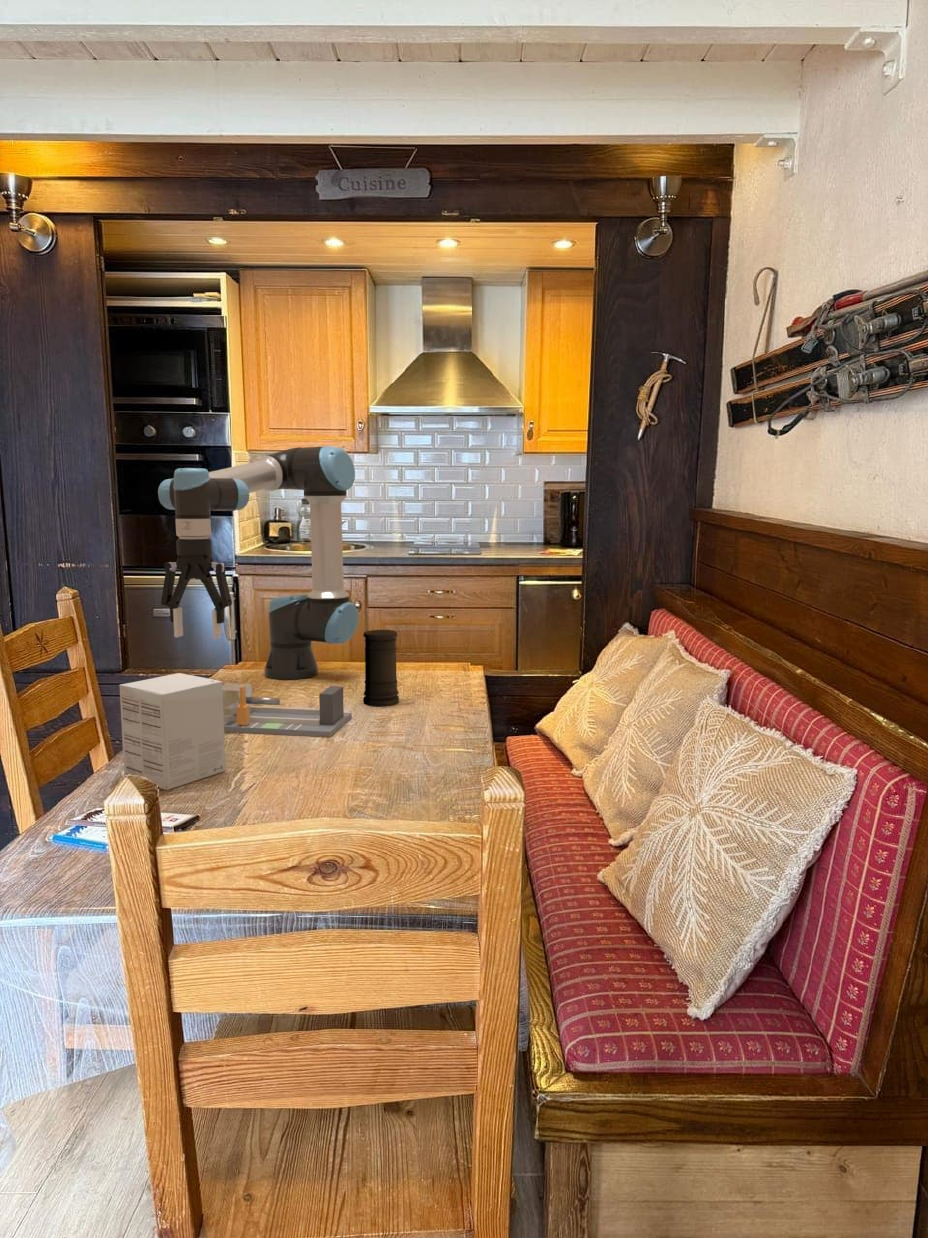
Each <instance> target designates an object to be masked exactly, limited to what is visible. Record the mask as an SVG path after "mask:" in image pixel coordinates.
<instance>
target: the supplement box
mask: <svg viewBox="0 0 928 1238" xmlns="http://www.w3.org/2000/svg"><path fill="white" fill-rule="evenodd" d="M222 685H223V681H221V680H217V679H212V678H207V677H202V676H196V675H192V674H186V673H180V672H177V673H176V672H175V673H173V674H167V675H163V676H157V677H153V678H152V677H151V678H148V679H143V680H138V681H134V682H128V683H122V684H119V685H118V686H119V701H120V702H119V704H120V717H121V719H120V720H121V721H120V722H121V738H122V741H121V743H122V759H123V760H122V761H123V774H124V775H128V774H131V775H139V776H143V777H146V778H148V779H149V780H151V781H153V782H155V783H157V785H158V786H159V788H158V789H161V790H165V791H168V790H171V789H174V788H177V787H178V788H179V787H180V786H184V785H187V784H189V783H193V782H196V781H199V780H202V779H205V778H208V777H211V776H214V775H218V774H221V773H224V772H225V771H226V770H227V769H226V768H227V767H226V764H227V763H226V746H225V732H224V719H223V694H222Z"/></svg>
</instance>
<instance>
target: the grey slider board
mask: <svg viewBox="0 0 928 1238" xmlns="http://www.w3.org/2000/svg"><path fill="white" fill-rule="evenodd" d="M318 695H319V708H301V707H297V708H296V707H276V706H255V705H252V712H250V723H249V724H247V725H237V715H232V716H224V715H223V719H224V733H239V734H241V733H242V734H257V735H258V734H260V735H263V734H264V735H277V736H279V735H281V736H299V737H321V738H324V737H325V738H331V737H333V736H334V735H335V734H336V733H337V732H338V731H339V730H340V729H341V728H343V727H344V726H345V724H347V723H348V722H349V721H351V719H352V717H353V716H352V715H353V714H352V712H344V686H343V685H342V686H341V685H340V686H338V685H337V686H336V685H329V687H327V688H325V689H324V690H323V691H321V692H320V693H319V694H318Z"/></svg>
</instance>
